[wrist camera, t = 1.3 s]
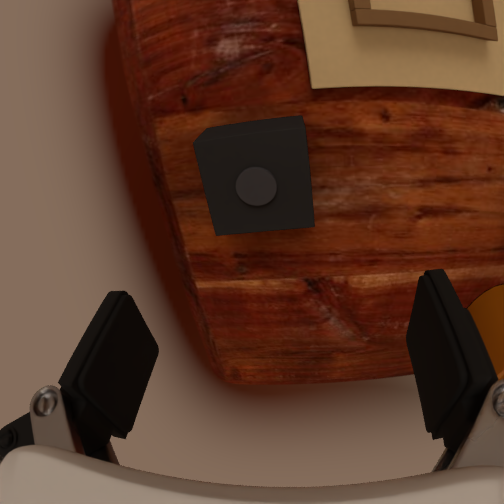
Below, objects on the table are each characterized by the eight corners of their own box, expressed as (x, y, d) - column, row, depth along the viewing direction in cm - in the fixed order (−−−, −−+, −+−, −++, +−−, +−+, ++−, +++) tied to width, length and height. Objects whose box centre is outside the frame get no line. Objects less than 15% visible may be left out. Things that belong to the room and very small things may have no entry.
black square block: (225, 210, 24) (214, 238, 21) (206, 128, 20) (191, 143, 17) (311, 202, 23) (315, 229, 20) (302, 115, 19) (305, 128, 16)
